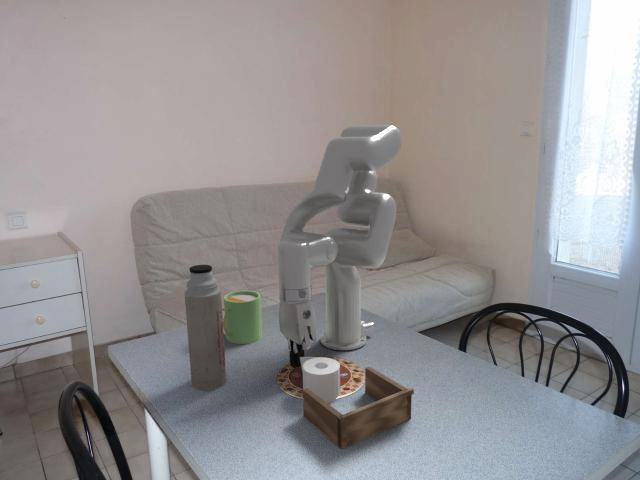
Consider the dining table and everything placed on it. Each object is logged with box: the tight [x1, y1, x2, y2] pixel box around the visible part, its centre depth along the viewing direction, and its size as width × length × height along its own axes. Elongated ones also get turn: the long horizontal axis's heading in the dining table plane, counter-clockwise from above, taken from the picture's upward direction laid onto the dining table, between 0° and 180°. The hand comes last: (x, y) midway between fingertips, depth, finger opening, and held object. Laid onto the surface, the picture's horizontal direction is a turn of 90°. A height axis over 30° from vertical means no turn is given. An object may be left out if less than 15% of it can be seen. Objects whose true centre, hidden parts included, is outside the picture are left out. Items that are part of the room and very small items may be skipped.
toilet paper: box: [300, 356, 341, 404], centre depth 113 cm, size 8×11×7 cm
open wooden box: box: [302, 366, 415, 450], centre depth 102 cm, size 17×14×7 cm
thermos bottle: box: [184, 264, 227, 392], centre depth 116 cm, size 8×8×28 cm
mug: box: [222, 290, 263, 345], centre depth 142 cm, size 13×10×12 cm
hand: (297, 365), depth 121 cm, fingers closed
